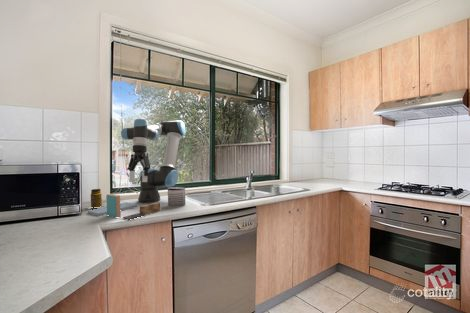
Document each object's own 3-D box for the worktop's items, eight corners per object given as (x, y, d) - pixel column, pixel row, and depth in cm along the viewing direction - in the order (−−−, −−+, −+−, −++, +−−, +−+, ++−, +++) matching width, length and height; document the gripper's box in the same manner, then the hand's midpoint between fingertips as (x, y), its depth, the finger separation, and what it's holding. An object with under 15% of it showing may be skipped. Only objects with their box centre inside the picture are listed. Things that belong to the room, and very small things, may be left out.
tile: (110, 214, 130) (110, 194, 129) (120, 217, 124) (119, 195, 124) (106, 215, 128) (106, 194, 127) (116, 218, 122) (115, 196, 122)
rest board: (126, 204, 155) (125, 202, 155) (137, 206, 147) (137, 204, 147) (87, 213, 135) (87, 210, 134) (98, 216, 127) (98, 213, 127)
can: (164, 205, 151) (164, 187, 150) (180, 202, 158) (180, 185, 158) (172, 208, 142) (172, 189, 142) (188, 205, 150) (188, 187, 149)
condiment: (104, 206, 150) (104, 188, 150) (92, 209, 142) (91, 190, 142) (97, 205, 153) (96, 188, 153) (84, 208, 145) (84, 190, 145)
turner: (155, 210, 139) (155, 201, 139) (162, 211, 135) (162, 202, 135) (122, 218, 121) (122, 209, 121) (129, 220, 118) (129, 211, 118)
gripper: (122, 146, 137) (120, 182, 134) (146, 142, 122) (144, 181, 120) (134, 148, 143) (132, 182, 140) (158, 144, 128) (156, 182, 126)
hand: (138, 182), depth 130 cm, fingers open, 13 cm apart
